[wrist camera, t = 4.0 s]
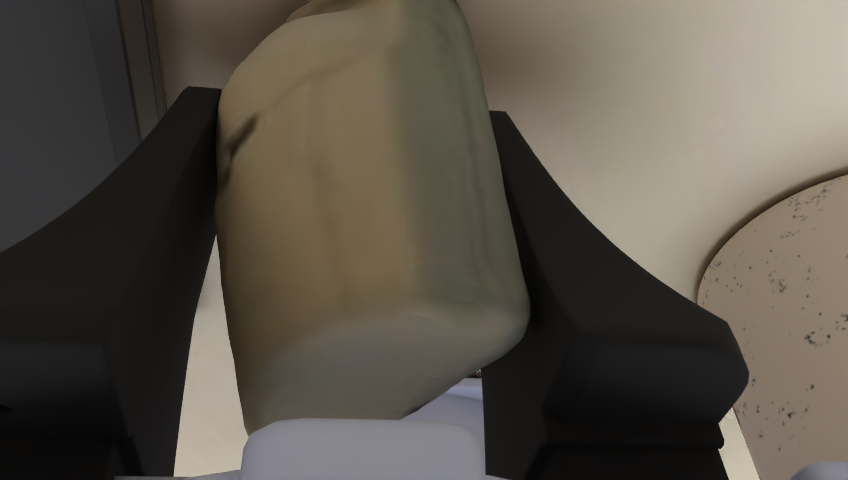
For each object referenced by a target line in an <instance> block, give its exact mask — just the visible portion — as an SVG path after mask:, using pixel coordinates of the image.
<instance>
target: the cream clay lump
mask: <svg viewBox="0 0 848 480" xmlns="http://www.w3.org/2000/svg"><path fill="white" fill-rule="evenodd" d="M215 144H216V164H217V175H218V183H217V193H216V199H215V205H214V217H215V226H216V235H217V243H218V251H219V258H220V271H221V286H222V291H223V299H224V306H225V312H226V320H227V327H228V335H229V340H230V345H231V349H232V353H233V358H234V363H235V371H236V378H237V386H238V392H239V397H240V402H241V407H242V413H243V420H244V426H245V429H246V431H247V434H248V436H249V437H250V435H251V434H252V433H254V432H255V431H257V430H259V429H261V428H263V427H265V426H267V425H269V424H271V423H273V422H276V421H282V420H290V419H299V418H329V419H375V420H401V419H403V418H404V417H406V416H408V415H410V414H412V413H414V412H416V411H418V410H419V409H420V408H422V407H423V406H425V405H426V404H428V403H430V402H431V401H433V400H435V399H436V398H438V397H439V396H440V395H442V394H443V393H445V392H446V391H448V390H449V389H450V388H452V387H453V386H455V385H456V384H458V383H459V382H460V381H462V380H463V379H464V378H465V377H467V376H469V375H471V374H472V373H474V372H476V371H478V370H480V369H481V368H483V367H485V366H487V365H488V364H490V363H492V362H494V361H495V360H497V359H499V358H501V357H502V356H504V355H505V354H506V353H507V352H508V351H510V350H511V349H512V348H513V347H514V346H516V345H517V344H518V343H519V342H520V341H521V340H522V338H523V336H524V334H525V332H526V329H527V326H528V323H529V320H530V298H529V294H528V290H527V286H526V282H525V279H524V275H523V272H522V267H521V263H520V258H519V253H518V248H517V244H516V239H515V235H514V230H513V226H512V222H511V217H510V212H509V208H508V204H507V201H506V197H505V190H504V184H503V178H502V171H501V165H500V160H499V155H498V150H497V146H496V142H495V138H494V133H493V129H492V124H491V120H490V115H489V110H488V105H487V100H486V96H485V91H484V86H483V81H482V76H481V71H480V67H479V62H478V59H477V55H476V52H475V49H474V45H473V42H472V39H471V34H470V31H469V28H468V25H467V23H466V21H465V19H464V16H463V14H462V12H461V10H460V8H459V6H458V4H457V2H456V0H311V1H310V2H308V3H307V4H305V5H304V6H302V7H301V8H299V9H297V10H296V11H294V12H292V13H291V14H290V15H289V17H288V18H287V19H286V21H285V22H284V23H283V24H282V26H281V27H279V28H278V29H276V30H275V31H274V32H272V33H271V34H270V35H268V36H267V37H266V38H265V39H264V40H263V41H262V42H261V43H260V44H259V45H258V46H257V47H256V48H255V49H254V50H253V51H252V52H251V53H250V54H249V56H248V57H247V58H246V59H245V60H244V61H243V62H242V63H241V64H240V65H239V66H238V67H237V68H236V69H235V70H234V71H233V73H232V75H231V77H230V79H229V80H228V82H227V84H226V85H225V87H224V89H223V90H222V92H221V96H220V100H219V107H218V115H217V123H216V139H215Z"/></svg>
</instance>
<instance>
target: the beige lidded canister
mask: <svg viewBox="0 0 848 480" xmlns="http://www.w3.org/2000/svg"><path fill="white" fill-rule="evenodd" d="M697 305H699V306H701V307H702V308H704V309H706V310H707V311H709V312H711V313H713V314H714V315H716V316H718V317H720V318H721V319H723V320H725V321H727V322H728V324H729V326H730V328H731V330H732V332H733V334H734V336H735V338H736V340H737V342H738V345H739V347H740V350H741V352H742V355H743V358H744V360H745V363H746V365H747V367H748V370H749V382H748V385H747V386H746V388H745V390H744V391H743V393H742V395H741V396H740V398H739V399H738V400H737V401H736V402H735V404H734V405H733V406H732V407H733V410H734V413H735V415H736V418H737V420H738V423H739V426H740V428H741V431H742V433H743V436H744V439H745V441H746V444H747V447H748V449H749V452H750V454H751V457H752V460H753V462H754V465H755V468H756V470H757V473H758V475H759V478H760V480H790V479H791V478H792V477H793V475H794V474H795V473H796V472H797V471H798V470H799V469H801V468H803V467H804V466H806V465H809V464H812V463H815V462H824V461H835V462H848V175H845V176H841V177H838V178H835V179H832V180H829V181H826V182H823V183H820V184H818V185H815V186H813V187H810V188H808V189H805V190H803V191H801V192H799V193H797V194H795V195H793V196H791V197H789V198H787V199H785V200H783V201H781V202H779V203H777V204H776V205H774V206H773V207H771V208H769V209H768V210H766V211H764V212H763V213H761V214H760V215H759V216H757V217H756V218H754V219H753V220H751V221H750V222H749V223H748V224H746V225H745V226H744V227H743V228H741V229H740V230H739V231H738V232H737V233H736V234H735V235H734V236H733V237H732V238H730V239H729V240H728V242H727V243H726V244H725V245H724V246H723V247H722V248H721V249H720V251H719V252H718V253H717V254H716V256H715V257H714V258H713V260H712V262H711V263H710V265H709V266H708V268H707V270H706V272H705V274H704V276H703V278H702V281H701V284H700V287H699V291H698V297H697Z"/></svg>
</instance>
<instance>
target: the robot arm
mask: <svg viewBox="0 0 848 480" xmlns="http://www.w3.org/2000/svg"><path fill="white" fill-rule="evenodd" d="M221 92H222V90H221V89H217V88H205V87H192V86H188V87H187V88H186V89H185V90H183V91H182V93H181V94H180V95H179V97H178V98H177V100H176V101H175V102H174V104H173V105H172V106H171V107H170V109H169V110H168V111H167V113H166V114H165V115H164V116H163V118H162V119H161V120H160V121H159V122H158V124H157V125H156V126H155V127H154V128H153V130H152V131H151V132H150V133H149V134H148V135H147V136H146V137H145V139H144V140H143V141H142V142H141V143H140V144H139V145H138V146H137V148H136V149H135V150H134V151H133V152H132V153H131V154H130V155H129V156H128V157H127V158H126V159H125V160H124V161H123V162H122V163H121V164H120V165H119V166H118V167H117V168H116V169H115V170H114V171H113V172H112V173H111V174H110V175H109V176H108V177H107V178H105V179H104V180H103V181H102V182H101V183H100V184H99V185H98V186H97V187H95V188H94V189H93V190H92V191H91V192H90V193H88V194H87V195H86V196H85V197H83V198H82V199H81V200H80V201H78V202H77V203H76V204H75V205H73V206H72V207H71V208H70V209H68V210H67V211H65V212H64V213H63V214H61V215H60V216H58V217H57V218H56V219H54V220H53V221H51V222H50V223H48V224H47V225H45V226H44V227H42V228H41V229H39V230H38V231H36V232H35V233H33V234H32V235H30V236H28V237H27V238H25V239H23V240H21V241H20V242H18V243H16V244H15V245H13V246H11V247H9V248H8V249H6V250H4V251H2V252H0V480H729V479H728V476H727V473H726V470H725V468H724V465H723V462H722V459H721V456H720V453H719V451H718V449H721V448H722V447H723V446H724V438H723V435H722V432H721V430H720V427H719V424H718V423H719V422H720V421H721V420H722V418H723V417H724V416H725V415H726V413H727V412H728V411H729V410H730V409H731V407H732V406H733V405H734V404H735V402H736V401H737V400H738V399H739V398H740V396H741V395H742V393H743V391H744V390H745V388H746V386H747V385H748V382H749V370H748V367H747V365H746V363H745V360H744V358H743V355H742V352H741V350H740V347H739V345H738V342H737V340H736V338H735V336H734V334H733V332H732V330H731V328H730V326H729V324H728V322H727V321H725V320H723V319H721V318H720V317H718V316H716V315H714V314H713V313H711V312H709V311H707V310H706V309H704V308H702V307H701V306H699V305H697V304H695V303H694V302H692V301H690V300H688V299H687V298H685V297H684V296H682V295H680V294H679V293H677V292H676V291H675V290H673V289H672V288H670V287H669V286H667V285H666V284H664V283H663V282H661V281H660V280H658V279H657V278H656V277H654V276H653V275H651V274H650V273H649V272H647V271H646V270H645V269H643V268H642V267H641V266H640V265H638V264H637V263H636V262H635V261H633V260H632V259H631V258H630V257H628V256H627V255H626V254H625V253H623V252H622V251H621V250H620V249H619V248H618V247H616V246H615V245H614V244H613V243H612V242H611V241H610V240H609V239H607V238H606V237H605V236H604V235H603V234H602V233H601V232H600V231H599V230H598V229H597V228H596V227H595V226H594V225H593V224H592V223H591V222H590V221H589V220H588V219H587V218H586V217H585V216H584V215H583V214H582V213H581V212H580V211H579V210H578V208H577V207H576V206H575V205H574V204H573V203H572V202H571V200H570V199H569V198H568V197H567V196H566V195H565V193H564V192H563V191H562V190H561V189H560V187H559V186H558V185H557V184H556V182H555V181H554V180H553V178H552V177H551V176H550V174H549V173H548V172H547V170H546V169H545V168H544V166H543V165H542V164H541V162H540V161H539V159H538V158H537V157H536V155H535V154H534V152H533V151H532V150H531V148H530V147H529V145H528V144H527V142H526V141H525V139H524V138H523V136H522V135H521V133H520V132H519V130H518V129H517V127H516V126H515V124H514V123H513V121H512V120H511V118H510V117H509V116H508V114H507V113H506V112H505V111H492V110H489V115H490V120H491V124H492V129H493V133H494V138H495V142H496V146H497V150H498V155H499V160H500V165H501V171H502V178H503V184H504V190H505V197H506V201H507V204H508V208H509V212H510V217H511V222H512V226H513V230H514V235H515V239H516V244H517V248H518V253H519V258H520V263H521V267H522V272H523V275H524V279H525V282H526V286H527V290H528V294H529V298H530V320H529V323H528V326H527V329H526V332H525V334H524V336H523V338H522V340H521V341H520V342H519V343H518V344H517V345H516V346H514V347H513V348H512V349H511V350H510V351H508V352H507V353H506V354H505V355H504V356H502V357H501V358H499V359H497V360H495V361H494V362H492V363H490V364H488V365H487V366H485V367H483V368H481V378H464V379H463V380H462V381H460V382H459V383H458V384H456V385H455V386H453V387H452V388H450V389H449V390H448V391H446V392H445V393H443V394H442V395H440V396H439V397H438V398H436V399H435V400H433V401H431V402H430V403H428V404H426V405H425V406H423V407H422V408H420V409H419V410H418V411H416V412H414V413H412V414H410V415H408V416H406V417H404V418H403V419H401V420H375V419H329V418H299V419H290V420H282V421H276V422H273V423H271V424H269V425H267V426H265V427H263V428H261V429H259V430H257V431H255V432H254V433H252V434H251V435H250V437H249V439H248V441H247V443H246V445H245V447H244V449H243V457H242V465H241V470H235V471H228V472H222V473H215V474H209V475H203V476H196V477H173V475H174V466H175V456H176V448H177V440H178V432H179V424H180V415H181V407H182V400H183V393H184V385H185V378H186V370H187V363H188V356H189V350H190V343H191V336H192V329H193V323H194V318H195V313H196V309H197V304H198V300H199V297H200V293H201V289H202V285H203V281H204V278H205V274H206V270H207V266H208V263H209V259H210V255H211V251H212V248H213V244H214V240H215V236H216V226H215V217H214V205H215V199H216V193H217V183H218V175H217V164H216V144H215V139H216V123H217V115H218V107H219V100H220V96H221ZM790 480H848V462H835V461H824V462H815V463H812V464H809V465H806V466H804V467H803V468H801V469H799V470H798V471H797V472H796V473H795V474H794V475H793V477H792V478H791V479H790Z"/></svg>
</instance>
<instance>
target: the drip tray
mask: <svg viewBox="0 0 848 480" xmlns="http://www.w3.org/2000/svg"><path fill="white" fill-rule="evenodd" d="M166 113H167V112H166V105H165V97H164V90H163V83H162V75H161V68H160V60H159V53H158V46H157V38H156V31H155V23H154V16H153V9H152V1H151V0H0V252H2V251H4V250H6V249H8V248H9V247H11V246H13V245H15V244H16V243H18V242H20V241H21V240H23V239H25V238H27V237H28V236H30V235H32V234H33V233H35V232H36V231H38V230H39V229H41V228H42V227H44V226H45V225H47V224H48V223H50V222H51V221H53V220H54V219H56V218H57V217H58V216H60V215H61V214H63V213H64V212H65V211H67V210H68V209H70V208H71V207H72V206H73V205H75V204H76V203H77V202H78V201H80V200H81V199H82V198H83V197H85V196H86V195H87V194H88V193H90V192H91V191H92V190H93V189H94V188H95V187H97V186H98V185H99V184H100V183H101V182H102V181H103V180H104V179H105V178H107V177H108V176H109V175H110V174H111V173H112V172H113V171H114V170H115V169H116V168H117V167H118V166H119V165H120V164H121V163H122V162H123V161H124V160H125V159H126V158H127V157H128V156H129V155H130V154H131V153H132V152H133V151H134V150H135V149H136V148H137V146H138V145H139V144H140V143H141V142H142V141H143V140H144V139H145V137H146V136H147V135H148V134H149V133H150V132H151V131H152V130H153V128H154V127H155V126H156V125H157V124H158V122H159V121H160V120H161V119H162V118H163V116H164V115H165V114H166Z"/></svg>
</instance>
